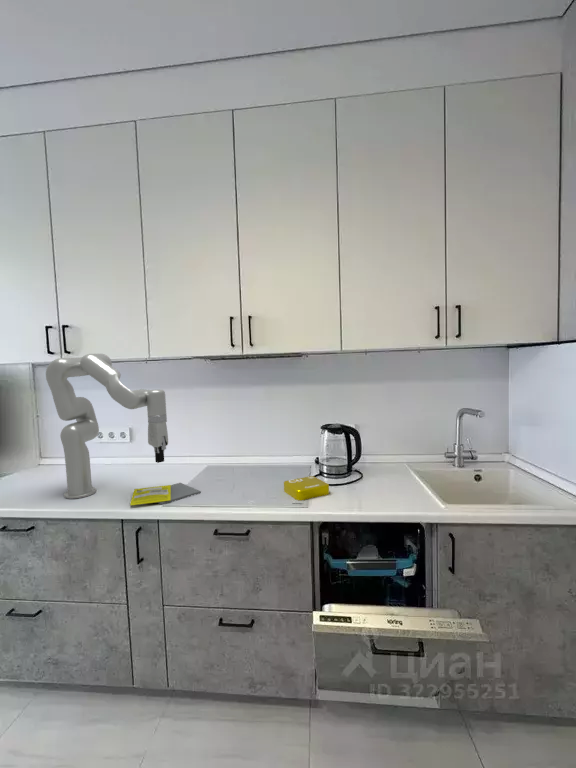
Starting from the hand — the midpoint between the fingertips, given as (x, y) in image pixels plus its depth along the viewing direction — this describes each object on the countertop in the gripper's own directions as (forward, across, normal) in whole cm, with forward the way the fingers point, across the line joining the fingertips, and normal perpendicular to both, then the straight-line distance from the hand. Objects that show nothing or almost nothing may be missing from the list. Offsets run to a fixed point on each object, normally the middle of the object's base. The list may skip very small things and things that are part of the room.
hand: (159, 461), depth 171 cm
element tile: (+14, +45, +42) cm, 63 cm away
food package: (+13, -9, 0) cm, 16 cm away
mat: (+14, +2, +3) cm, 15 cm away
